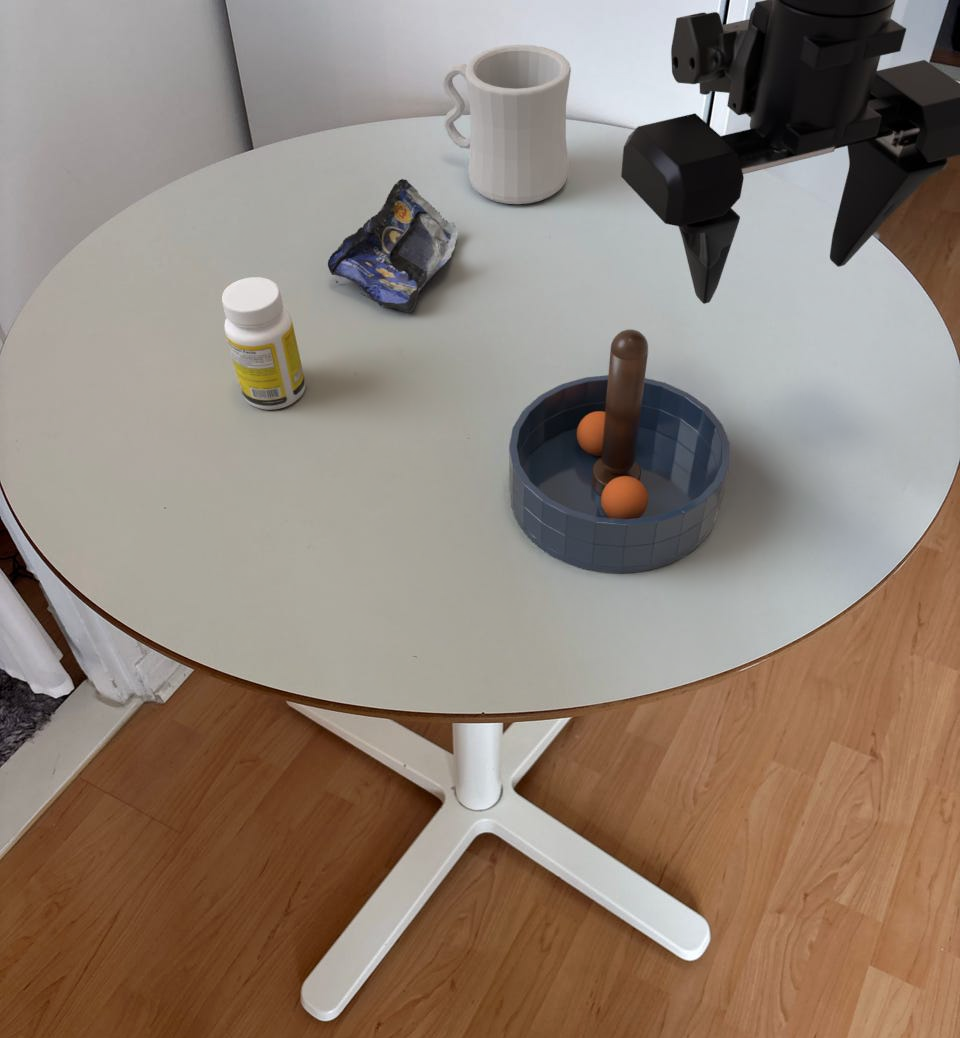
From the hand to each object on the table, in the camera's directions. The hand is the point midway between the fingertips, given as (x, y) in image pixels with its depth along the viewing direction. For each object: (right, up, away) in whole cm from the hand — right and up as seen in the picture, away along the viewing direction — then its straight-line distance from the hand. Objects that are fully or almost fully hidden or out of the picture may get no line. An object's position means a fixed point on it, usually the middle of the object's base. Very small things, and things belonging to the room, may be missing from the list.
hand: (770, 280), depth 61 cm
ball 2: (-8, -12, +5) cm, 16 cm away
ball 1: (-9, -7, +8) cm, 15 cm away
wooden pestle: (-8, -11, +8) cm, 16 cm away
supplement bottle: (-33, -3, +16) cm, 37 cm away
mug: (-15, +21, +33) cm, 42 cm away
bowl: (-8, -12, +8) cm, 16 cm away
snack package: (-24, +9, +24) cm, 35 cm away
